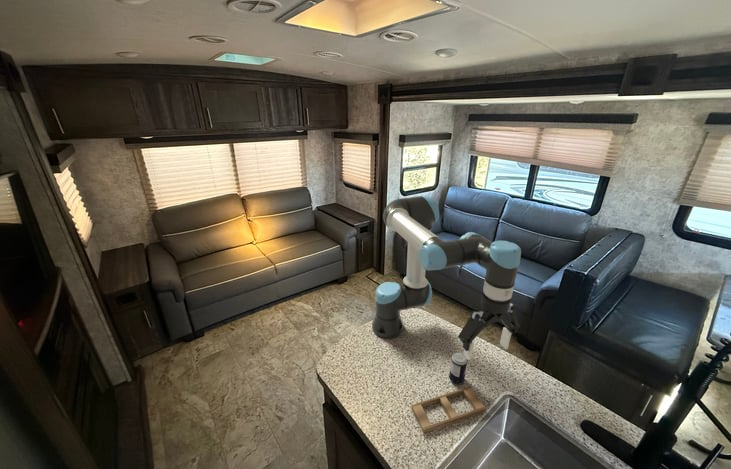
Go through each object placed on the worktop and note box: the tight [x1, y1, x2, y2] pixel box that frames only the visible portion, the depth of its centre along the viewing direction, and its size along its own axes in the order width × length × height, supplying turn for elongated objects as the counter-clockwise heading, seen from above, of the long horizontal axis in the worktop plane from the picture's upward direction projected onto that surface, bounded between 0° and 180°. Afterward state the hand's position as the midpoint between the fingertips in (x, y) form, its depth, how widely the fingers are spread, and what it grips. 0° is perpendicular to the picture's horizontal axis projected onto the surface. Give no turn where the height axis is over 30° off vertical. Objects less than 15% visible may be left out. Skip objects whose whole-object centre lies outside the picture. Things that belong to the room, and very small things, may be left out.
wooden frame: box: [410, 386, 487, 435], centre depth 99 cm, size 9×24×2 cm, turn 107°
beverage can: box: [448, 351, 468, 385], centre depth 109 cm, size 6×6×12 cm
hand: (485, 351), depth 88 cm, fingers open, 13 cm apart
